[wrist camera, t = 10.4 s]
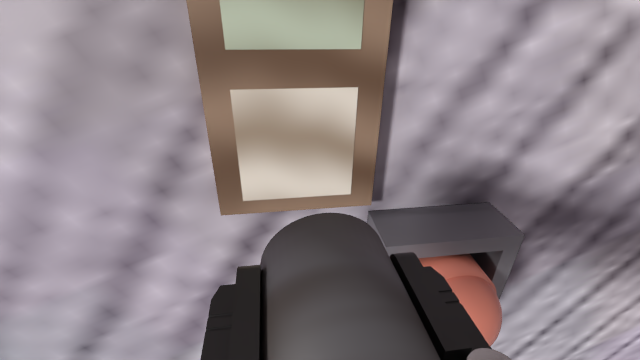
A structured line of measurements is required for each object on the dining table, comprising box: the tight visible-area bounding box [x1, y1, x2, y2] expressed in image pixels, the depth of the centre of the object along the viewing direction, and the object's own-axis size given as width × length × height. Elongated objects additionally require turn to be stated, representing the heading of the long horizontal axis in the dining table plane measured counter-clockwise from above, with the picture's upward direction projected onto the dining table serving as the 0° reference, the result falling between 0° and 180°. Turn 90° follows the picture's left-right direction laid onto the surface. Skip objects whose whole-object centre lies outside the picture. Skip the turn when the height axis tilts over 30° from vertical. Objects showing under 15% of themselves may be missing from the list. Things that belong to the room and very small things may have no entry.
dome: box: [418, 254, 502, 346], centre depth 22 cm, size 6×6×6 cm
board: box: [186, 0, 393, 215], centre depth 18 cm, size 18×10×1 cm, turn 179°
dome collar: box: [367, 203, 525, 299], centre depth 25 cm, size 10×10×4 cm
